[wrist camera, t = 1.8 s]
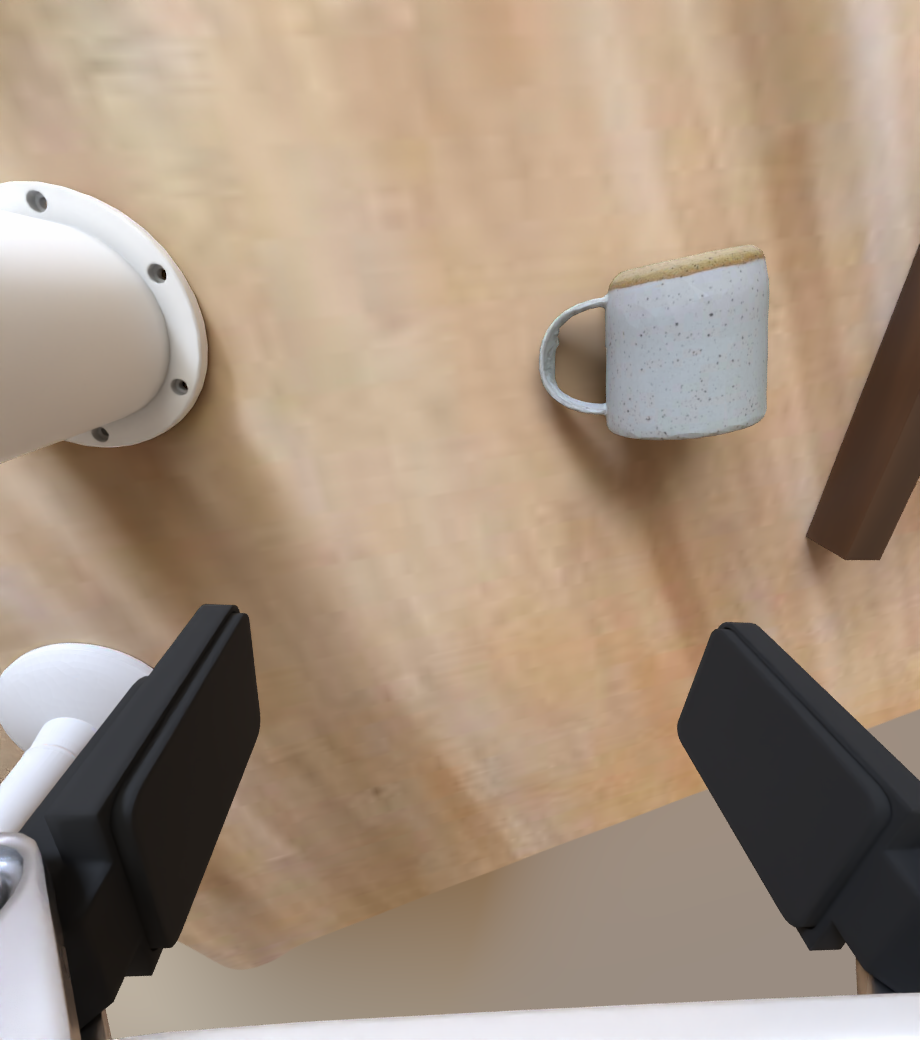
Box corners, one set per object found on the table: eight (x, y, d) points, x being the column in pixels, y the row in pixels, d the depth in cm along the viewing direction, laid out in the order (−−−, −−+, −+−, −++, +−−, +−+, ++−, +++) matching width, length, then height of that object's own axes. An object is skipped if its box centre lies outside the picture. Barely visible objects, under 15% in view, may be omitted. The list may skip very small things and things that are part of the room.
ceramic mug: (716, 248, 26) (821, 227, 19) (712, 397, 29) (800, 426, 22) (525, 290, 26) (559, 285, 19) (543, 432, 30) (578, 472, 23)
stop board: (805, 536, 34) (844, 560, 31) (968, 117, 24) (1051, 88, 21) (837, 536, 34) (880, 560, 31) (1012, 121, 24) (1101, 93, 21)
